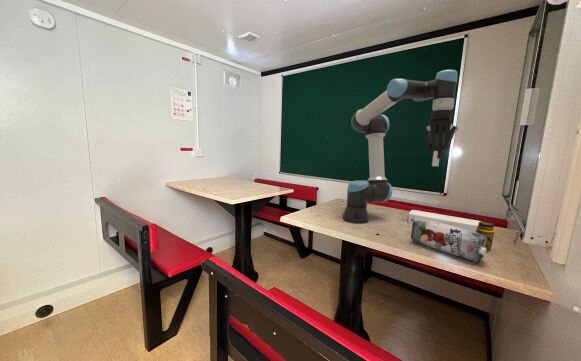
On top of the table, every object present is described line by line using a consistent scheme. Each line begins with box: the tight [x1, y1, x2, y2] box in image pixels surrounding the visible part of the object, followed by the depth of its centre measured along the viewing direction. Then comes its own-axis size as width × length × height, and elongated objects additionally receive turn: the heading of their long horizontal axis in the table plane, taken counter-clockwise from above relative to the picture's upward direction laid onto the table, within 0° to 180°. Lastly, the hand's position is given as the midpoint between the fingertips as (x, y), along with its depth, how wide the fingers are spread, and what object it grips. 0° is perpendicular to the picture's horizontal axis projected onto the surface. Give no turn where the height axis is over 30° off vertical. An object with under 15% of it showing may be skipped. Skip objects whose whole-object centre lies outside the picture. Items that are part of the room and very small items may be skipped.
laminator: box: [407, 209, 482, 232], centre depth 131 cm, size 34×12×6 cm, turn 54°
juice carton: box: [410, 219, 487, 263], centre depth 99 cm, size 9×10×27 cm
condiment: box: [476, 221, 495, 254], centre depth 104 cm, size 7×8×12 cm
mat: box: [414, 241, 477, 266], centre depth 101 cm, size 22×12×1 cm, turn 35°
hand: (435, 166), depth 101 cm, fingers closed
